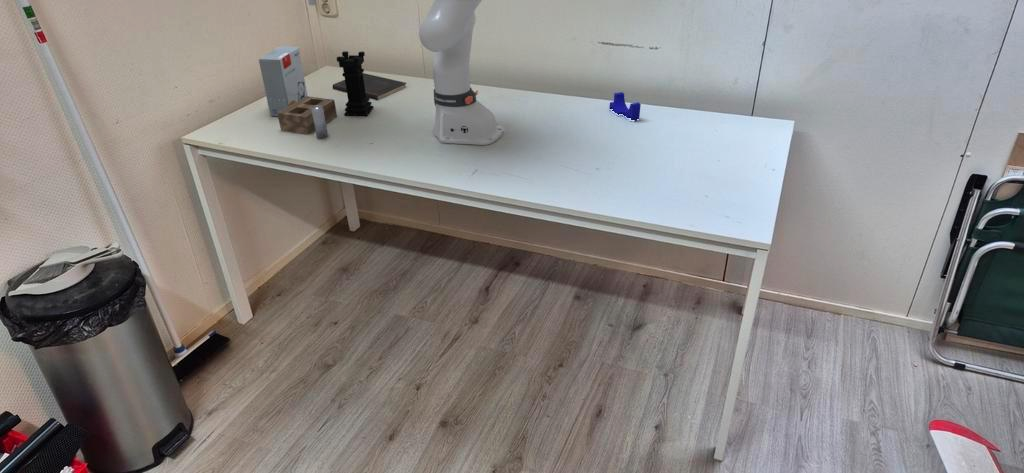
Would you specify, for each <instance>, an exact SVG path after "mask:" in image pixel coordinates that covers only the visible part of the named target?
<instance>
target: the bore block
mask: <svg viewBox="0 0 1024 473" xmlns="http://www.w3.org/2000/svg"><path fill="white" fill-rule="evenodd" d="M314 105H322V106H323V110H324V115H325V121H326V124H328V123H330V122H331V121H332V120H334V119H336V118H338V113H337V112H338V111H337V108H336V102H335V99H333V98H332V99H331V98H323V97H315V96H310V95H309V96H306V97H305V98H303V99H301V100H299V101H298V102H296V103H294V104H292V105H290V106H289V107H287V108H285V109H283V110H282V111H280V112H278V113H277V114H278V116H277V119H278V123H279V127H280V131H284V132H290V133H295V134H296V133H297V134H303V135H311V134H312V133H314V132H316V131H315V126H314V121H313V116H312V110H311V107H312V106H314Z"/></svg>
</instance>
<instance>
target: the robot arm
mask: <svg viewBox="0 0 1024 473" xmlns="http://www.w3.org/2000/svg"><path fill="white" fill-rule="evenodd" d="M307 1H308V2H307V3H308V5H309V6H311V7H312V6H315V5H317V0H307ZM481 2H482V0H434V2H433V4H432V6H431V7H430V9H429V11H428V12H427V15H426V16H425V18H424V19H423V21H422V22H421V24H420V26H419V28H418V37H419V40H420V43H421V44H422V46H423V47H424V48H425V49H426V50H429V51H430V52H433V53H435V56H434V59H433V62H432V73H433V85H434V86H433V87H434V88H433V101H434V106H435V118H434V125H433V130H432V133H433V135H434V136H435V137H437V138H438V140H439V142H440V143H443V144H456V145H457V144H459V145H460V144H462V145H478V146H479V145H481V146H487V145H490V144H493V143H495V142H496V141H497V140H499V139H500V138H501V136H502V135H503V133H504V127H503V126H502V125H499V124H497V121H496V118H495V117H496V116H495V114H494V112H492V111H491V110H490V109H489V108H487V106H485V105H484V104H482V103H481V102H480V101H478V100H477V95H478V94H479V93H478V92H479V91H478V90H476V91H475V92H474V90H473V88H472V87H471V78H470V77H471V75H470V61H471V60H470V59H471V49H472V41H473V32H474V28H475V24H476V13H475V11H476V9H477V8H478V6H479V5H480V3H481Z"/></svg>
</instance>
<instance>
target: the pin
mask: <svg viewBox="0 0 1024 473" xmlns="http://www.w3.org/2000/svg"><path fill="white" fill-rule="evenodd" d="M311 110H312V116H313V121H314V126H315V131H314V132H315V135H316V138H317V139H319V140H324V139H327V138H328V137H329V134H328V133H329V132H328V128H327V123H326V121H325V115H324V110H323V106H322V105H314V106H312V107H311Z"/></svg>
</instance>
